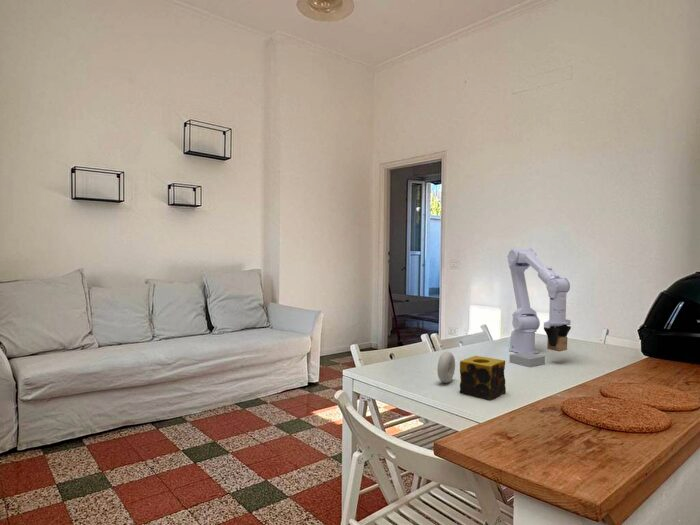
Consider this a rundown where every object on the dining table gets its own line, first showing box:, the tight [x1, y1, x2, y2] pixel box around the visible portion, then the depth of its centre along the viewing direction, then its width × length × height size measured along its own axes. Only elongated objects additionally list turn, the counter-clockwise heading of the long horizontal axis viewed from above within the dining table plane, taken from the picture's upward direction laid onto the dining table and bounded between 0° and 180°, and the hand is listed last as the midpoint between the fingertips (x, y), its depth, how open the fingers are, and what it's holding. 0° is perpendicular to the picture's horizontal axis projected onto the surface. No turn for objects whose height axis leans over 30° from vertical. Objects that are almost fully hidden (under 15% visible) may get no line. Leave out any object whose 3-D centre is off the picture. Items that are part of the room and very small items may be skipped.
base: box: [509, 352, 546, 368], centre depth 174 cm, size 9×9×3 cm
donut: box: [436, 351, 456, 384], centre depth 148 cm, size 10×4×10 cm, turn 148°
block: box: [546, 335, 568, 353], centre depth 175 cm, size 5×5×5 cm
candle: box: [459, 355, 507, 401], centre depth 137 cm, size 10×10×10 cm
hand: (556, 345), depth 175 cm, fingers closed on block, 5 cm apart
